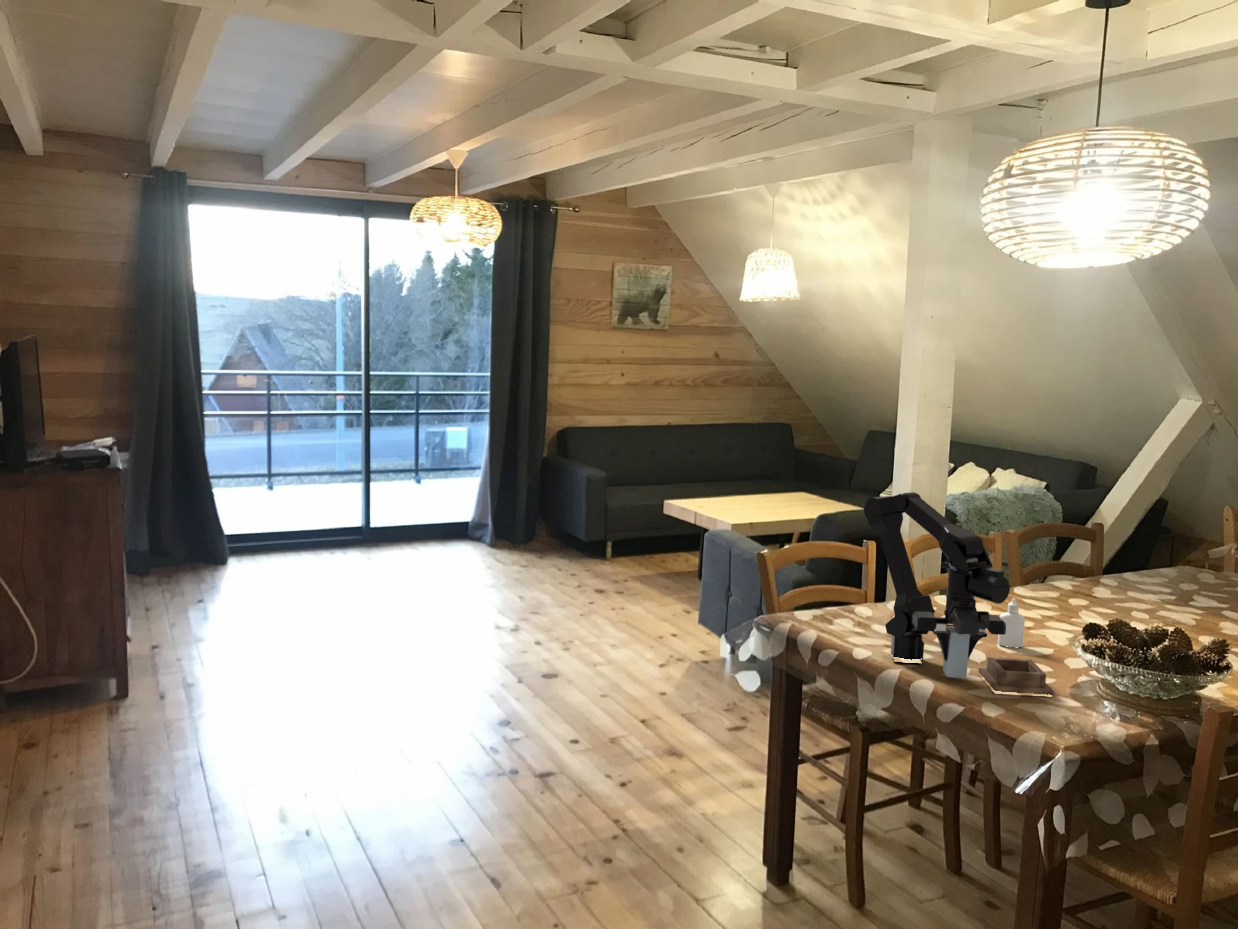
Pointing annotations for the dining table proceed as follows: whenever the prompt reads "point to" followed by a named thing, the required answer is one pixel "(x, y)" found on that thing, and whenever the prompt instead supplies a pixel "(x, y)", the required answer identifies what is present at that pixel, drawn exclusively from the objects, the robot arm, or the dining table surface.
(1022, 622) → the eye dropper bottle
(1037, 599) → the dining table surface
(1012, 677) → the walnut holder
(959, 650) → the slate peg
